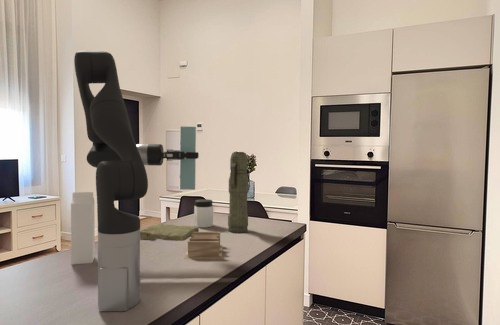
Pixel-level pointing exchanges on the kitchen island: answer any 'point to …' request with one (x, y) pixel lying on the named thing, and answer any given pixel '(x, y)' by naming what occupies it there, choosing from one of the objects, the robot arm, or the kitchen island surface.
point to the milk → (82, 228)
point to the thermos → (238, 193)
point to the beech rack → (204, 246)
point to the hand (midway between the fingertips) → (197, 155)
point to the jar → (203, 213)
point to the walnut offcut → (204, 236)
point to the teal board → (187, 164)
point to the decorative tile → (167, 232)
